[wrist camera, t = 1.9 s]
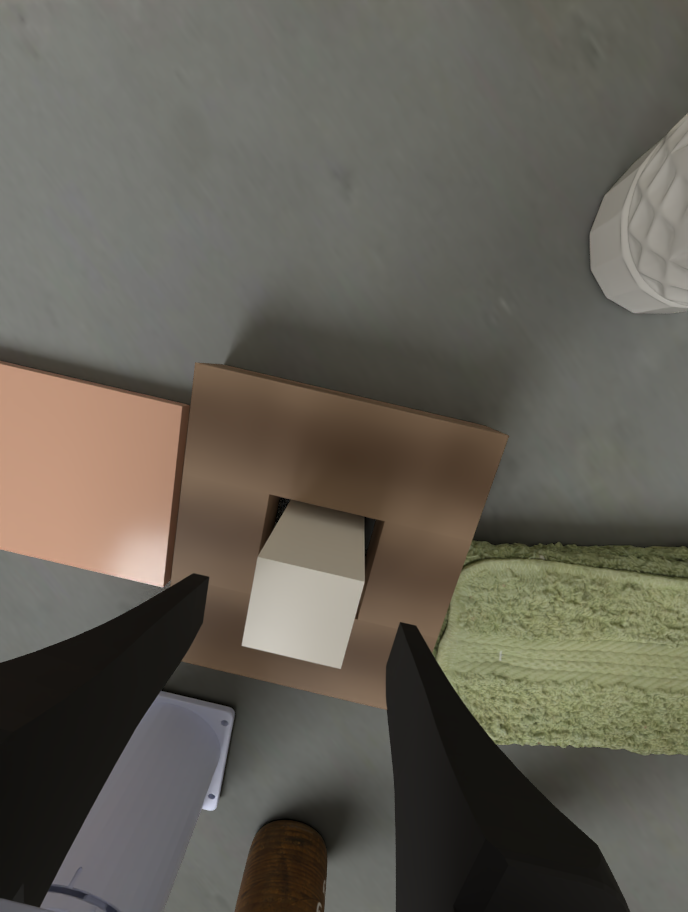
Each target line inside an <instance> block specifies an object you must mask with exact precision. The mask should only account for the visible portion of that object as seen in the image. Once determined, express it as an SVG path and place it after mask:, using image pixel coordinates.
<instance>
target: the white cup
mask: <svg viewBox="0 0 688 912" xmlns="http://www.w3.org/2000/svg"><path fill="white" fill-rule="evenodd" d="M589 237H590V268H591V271H592V273H593V275H594V277H595V279H596V280H597V282H598V284H599V286H600V287H601V289H602V291H603V293H604V295H605V296H606V298H608V299H609V300H611V301H613V302H615V303H617V304H618V305H620V306H622V307H624V308H625V309H627V310H629V311H630V312H632V313H643V314H671V313H678V312H685V311H688V114H687V115H685V116H684V117H683V118H682V119H681V120H680V121H679V122H678V123H677V124H676V125H675V126H674V127H673V128H672V129H671V130H670V131H669V132H668V133H667V134H666V136H665V137H664V138H663V139H661V140H660V141H659V142H658V143H657V144H655V145H654V146H653V147H652V148H651V149H649V150H648V151H647V152H646V153H645V154H644V155H642V156H641V157H640V158H639V159H638V160H637V161H635V162H634V163H633V164H632V165H631V167H630V168H629V169H628V170H627V171H626V172H625V173H624V174H623V175H622V177H621V178H620V179H619V180H618V181H617V182H616V183H615V184H614V185H613V187H612V188H611V189H610V190H609V191H608V192H607V193H606V194H605V196H604V197H603V200H602V203H601V205H600V208H599V210H598V213H597V216H596V218H595V221H594V223H593V226H592V229H591V231H590V234H589Z"/></svg>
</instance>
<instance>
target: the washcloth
mask: <svg viewBox="0 0 688 912" xmlns="http://www.w3.org/2000/svg"><path fill="white" fill-rule="evenodd" d="M432 654H433V656H434V657H435V659H436V661H437V662H438V664H439V666H440V667H441V669H442V671H443V672H444V674H445V676H446V677H447V679H448V680H449V682H450V683H451V685H452V687H453V688H454V690H455V691H456V692H457V694H458V695H459V697H460V698H461V700H462V701H463V703H464V704H465V705H466V707H467V708H468V710H469V711H470V712H471V714H472V715H473V716H474V718H475V719H476V720H477V721H478V723H479V724H480V725H481V726H482V728H483V729H484V730H485V732H486V733H487V734H488V735H489V737H490V738H491V739H492V740H493V741H494V743H495V744H499V745H510V744H513V743H516V744H520V745H522V746H523V745H524V744H528V745H530V746H534V745H538V744H541V745H546V746H550V745H553V746H556V744H557V745H558V746H561V747H562V748H566V746H568V745H572V746H574V747H575V748H580V747H585V746H586V747H588V748H590V747H593V746H594V747H603V748H610V749H616V750H617V749H622V748H624V749H626V750H628V751H630V752H635V753H638V754H642V755H649V754H651V753H652V754H667V755H674V754H682V755H688V548H687V547H685V546H680V547H665V546H664V547H661V546H651V547H647V548H642V547H634V546H632V545H627V546H615V545H607V546H599V547H598V546H597V545H595V546H589V547H587V546H576V545H575V544H571V545H566V546H562V544H561V543H560V542H557V543H556V544H555V545H554V544H553V543H551V544H548V545H543V544H541V543H539V544H538V545H533V546H532V547H528V546H526V545H524V544H519V543H518V544H517V543H514V544H512V545H510V544H508V543H506V544H501V545H497V546H495V545H491V544H490V543H489V542H486V541H483V542H481V541H475V540H472V542H471V545H470V548H469V551H468V553H467V556H466V559H465V562H464V565H463V568H462V570H461V573H460V576H459V579H458V582H457V585H456V587H455V590H454V593H453V596H452V599H451V602H450V604H449V607H448V610H447V613H446V616H445V618H444V621H443V624H442V627H441V630H440V633H439V635H438V638H437V641H436V644H435V647H434V650H433V652H432Z"/></svg>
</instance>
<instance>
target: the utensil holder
mask: <svg viewBox="0 0 688 912" xmlns="http://www.w3.org/2000/svg"><path fill="white" fill-rule="evenodd" d="M326 877H327V850H326V845H325V843H324V840H323V839H322V837H321V836H320V834H319V833H318V832H317V831H315V830H314V829H313V828H311V827H310V826H308V825H306V824H304V823H301V822H297V821H292V820H278V821H274V822H271V823H268V824H266V825H265V826H263V827H262V828H261V829H260V830H259V831H258V832H257V834H256V835H255V837H254V839H253V842H252V845H251V847H250V851H249V854H248V858H247V862H246V866H245V870H244V874H243V878H242V882H241V886H240V891H239V895H238V899H237V903H236V908H235V912H324V905H325V892H326Z"/></svg>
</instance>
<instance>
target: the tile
mask: <svg viewBox="0 0 688 912" xmlns="http://www.w3.org/2000/svg"><path fill="white" fill-rule="evenodd" d="M189 410H190V405H188V404H183V403H179V402H175V401H171V400H166V399H162V398H158V397H153V396H149V395H145V394H141V393H136V392H132V391H128V390H123V389H119V388H115V387H111V386H106V385H102V384H98V383H94V382H89V381H85V380H81V379H76V378H72V377H68V376H64V375H59V374H55V373H51V372H47V371H42V370H38V369H34V368H29V367H25V366H21V365H17V364H12V363H8V362H4V361H0V549H1V550H6V551H10V552H14V553H18V554H23V555H27V556H31V557H36V558H40V559H44V560H48V561H53V562H57V563H61V564H65V565H70V566H74V567H78V568H82V569H87V570H91V571H95V572H99V573H104V574H108V575H112V576H116V577H121V578H125V579H129V580H133V581H138V582H142V583H146V584H150V585H155V586H159V587H164V586H165V585H166V584H167V583H168V582H169V581H170V580H171V571H172V562H173V553H174V544H175V535H176V526H177V517H178V508H179V499H180V490H181V481H182V472H183V463H184V455H185V446H186V437H187V428H188V419H189Z"/></svg>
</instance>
